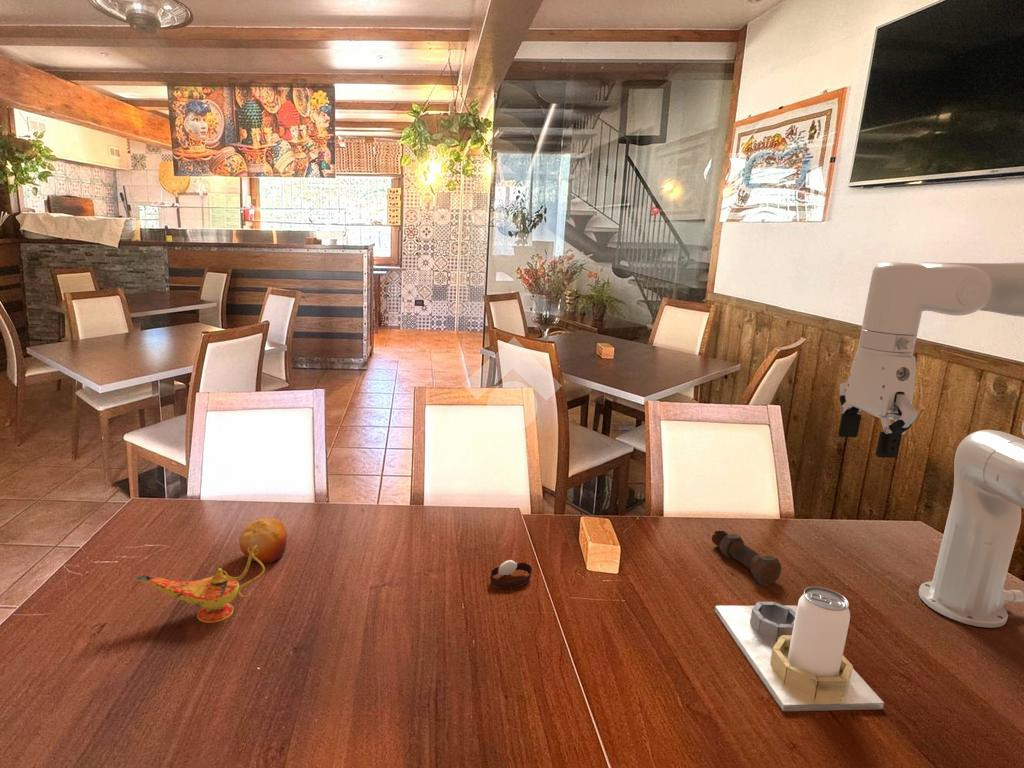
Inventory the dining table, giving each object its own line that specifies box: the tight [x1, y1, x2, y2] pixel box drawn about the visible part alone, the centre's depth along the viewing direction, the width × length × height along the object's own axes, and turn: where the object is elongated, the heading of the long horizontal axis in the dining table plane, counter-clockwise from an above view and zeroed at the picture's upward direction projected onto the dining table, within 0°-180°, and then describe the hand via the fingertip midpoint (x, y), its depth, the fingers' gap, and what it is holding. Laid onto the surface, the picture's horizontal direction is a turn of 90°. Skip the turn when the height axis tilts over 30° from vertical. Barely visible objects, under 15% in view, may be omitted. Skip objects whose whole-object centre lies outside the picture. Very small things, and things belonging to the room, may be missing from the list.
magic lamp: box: [134, 545, 266, 624], centre depth 93 cm, size 7×18×11 cm, turn 103°
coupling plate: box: [714, 601, 885, 712], centre depth 92 cm, size 14×22×4 cm, turn 5°
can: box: [788, 586, 851, 677], centre depth 85 cm, size 6×6×12 cm
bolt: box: [711, 530, 782, 586], centre depth 117 cm, size 6×5×15 cm
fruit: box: [238, 517, 288, 564], centre depth 111 cm, size 8×8×8 cm
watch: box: [489, 559, 533, 589], centre depth 107 cm, size 8×5×4 cm, turn 116°
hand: (865, 446), depth 100 cm, fingers open, 9 cm apart
